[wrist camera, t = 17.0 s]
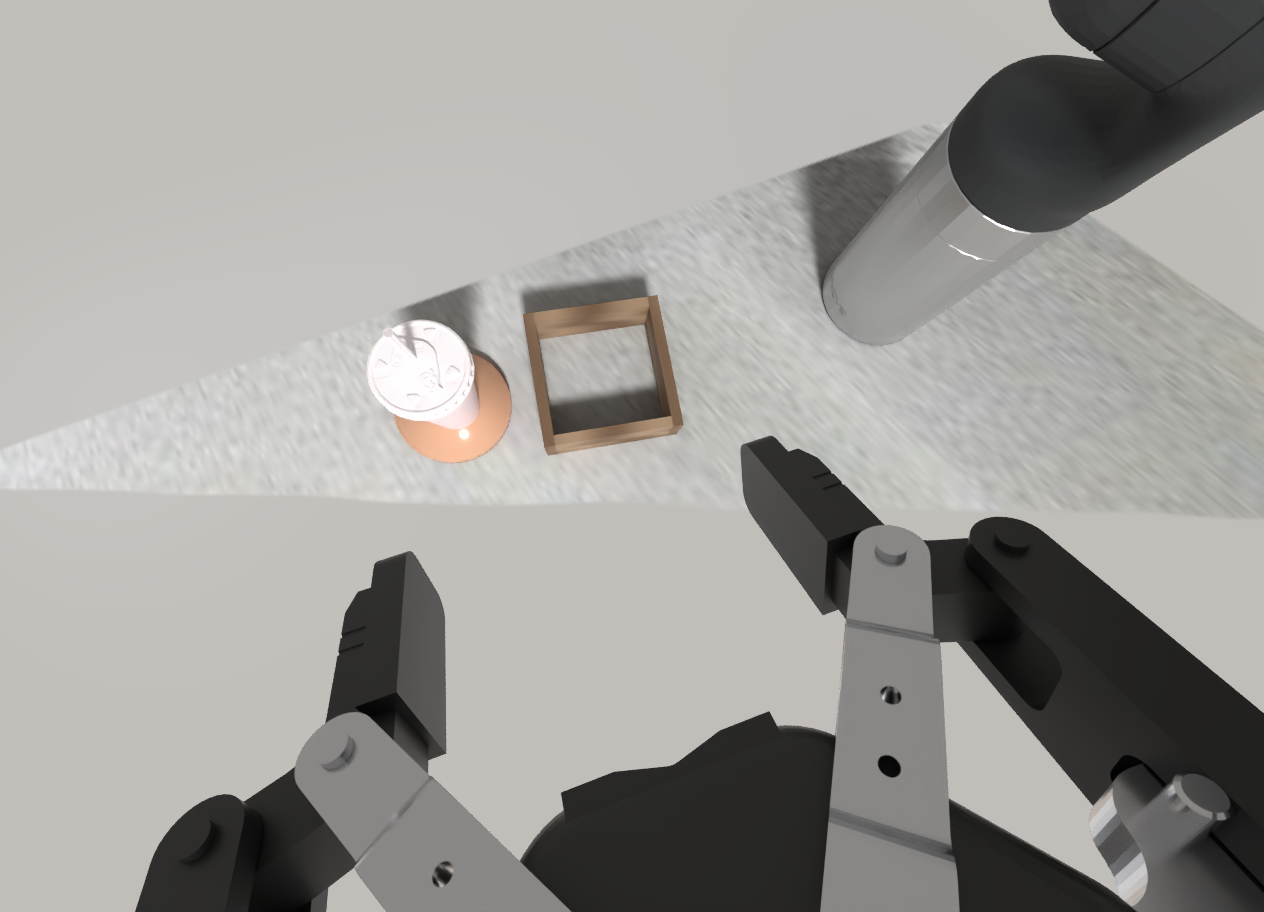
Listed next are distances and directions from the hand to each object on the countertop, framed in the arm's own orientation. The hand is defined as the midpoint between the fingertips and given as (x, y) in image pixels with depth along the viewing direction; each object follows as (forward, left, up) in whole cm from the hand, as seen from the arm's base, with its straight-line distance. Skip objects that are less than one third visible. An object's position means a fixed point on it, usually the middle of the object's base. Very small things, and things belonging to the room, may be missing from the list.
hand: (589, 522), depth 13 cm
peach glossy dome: (+9, -12, -31) cm, 34 cm away
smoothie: (+9, -12, -30) cm, 34 cm away
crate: (-3, -13, -31) cm, 33 cm away
